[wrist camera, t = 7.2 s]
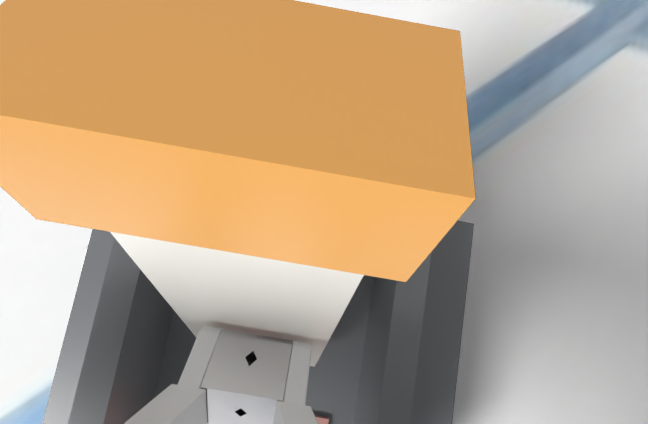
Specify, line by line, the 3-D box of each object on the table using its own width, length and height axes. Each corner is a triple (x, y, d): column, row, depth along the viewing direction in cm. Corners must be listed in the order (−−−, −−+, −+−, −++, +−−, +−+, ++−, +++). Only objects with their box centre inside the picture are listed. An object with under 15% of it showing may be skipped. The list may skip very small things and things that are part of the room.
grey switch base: (412, 468, 19) (490, 619, 11) (92, 417, 18) (-72, 533, 10) (441, 231, 20) (526, 211, 12) (149, 181, 20) (46, 126, 12)
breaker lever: (320, 383, 14) (475, 198, 3) (196, 363, 14) (-97, 98, 3) (328, 321, 16) (459, 31, 4) (214, 302, 15) (53, -45, 4)
